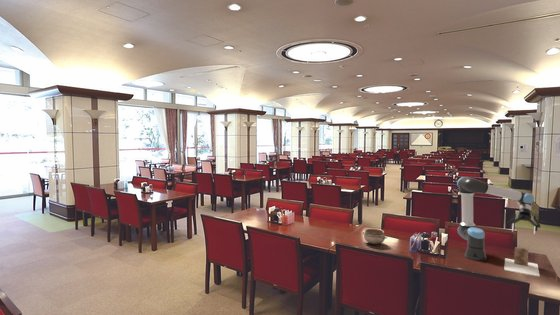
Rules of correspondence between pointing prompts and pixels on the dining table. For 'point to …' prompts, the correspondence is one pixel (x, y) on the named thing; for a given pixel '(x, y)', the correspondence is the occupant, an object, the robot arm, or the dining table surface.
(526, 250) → the walnut plaque
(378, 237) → the cooking pot
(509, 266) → the cream white flat board
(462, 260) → the dining table surface
